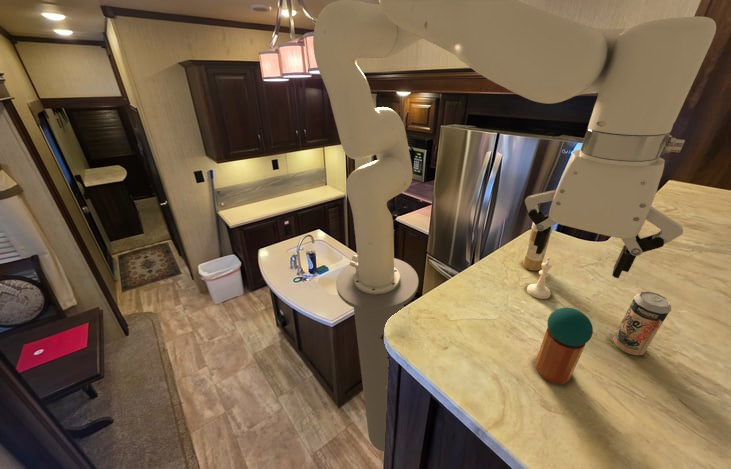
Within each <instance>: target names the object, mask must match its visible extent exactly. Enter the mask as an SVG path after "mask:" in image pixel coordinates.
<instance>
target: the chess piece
mask: <svg viewBox="0 0 731 469" xmlns="http://www.w3.org/2000/svg"><path fill="white" fill-rule="evenodd" d="M550 260H551V257H549V256H547V257H546V259H545V262H544V261H543V262H542V264H541V266H542V267H541V269H540V270H538V274H539V275H540V276H539V278H538V281H537V282H536V283H530V284H529V285H527V288H526V291H527V293H528V294H529V295H530V296H532V297H534V298H535V299H536V298H537V299H539V300H540V299H541V300H546V299H549V298H550V297H551V290H550V289H549V287H547V286H546V277H549V276H550V272H549V271H550V269H551V268H552V264H551V263H550Z"/></svg>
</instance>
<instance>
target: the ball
mask: <svg viewBox="0 0 731 469" xmlns="http://www.w3.org/2000/svg"><path fill="white" fill-rule="evenodd" d="M547 328H548V329H549V332H550V334H551V335H552V336H553V337H554V338H555V339H556V340H557V341H558V342H560V343H562V344H564V345H567V346H581V345H584V344H585V343H586V344H587V343H589V341H590V340H591V339H592V336H593V335H594V334H593V333H594V329H593V324H592V321H591V320H590V318H589V317H588V316H587V315H586V314H585V313H583V312H582V311H581V310H579V309H576V308H573V307H559V308H556V309H555V310H553V311H552V312H551V313H550V314H549V316H548V318H547ZM586 344H585V345H586Z"/></svg>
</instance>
